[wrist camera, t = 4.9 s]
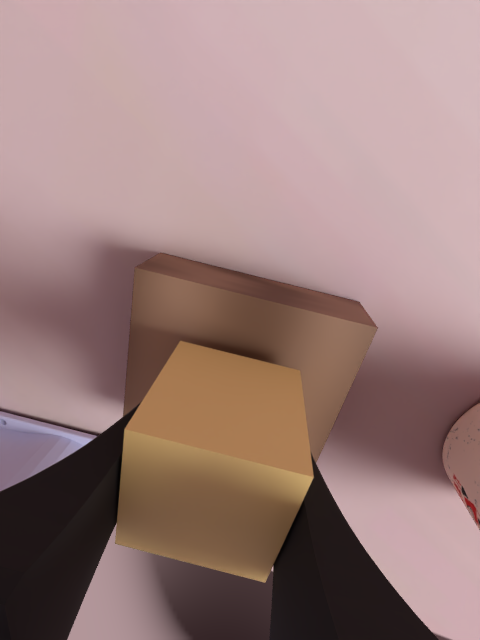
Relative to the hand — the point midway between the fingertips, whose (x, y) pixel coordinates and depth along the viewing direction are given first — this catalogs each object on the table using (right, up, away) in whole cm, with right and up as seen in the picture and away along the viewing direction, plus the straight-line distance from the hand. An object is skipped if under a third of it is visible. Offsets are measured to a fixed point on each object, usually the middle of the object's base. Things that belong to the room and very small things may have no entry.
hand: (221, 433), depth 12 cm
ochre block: (0, +1, +1) cm, 2 cm away
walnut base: (+1, +2, +5) cm, 5 cm away
